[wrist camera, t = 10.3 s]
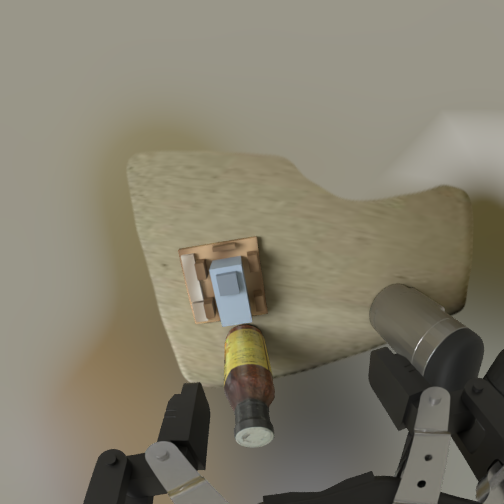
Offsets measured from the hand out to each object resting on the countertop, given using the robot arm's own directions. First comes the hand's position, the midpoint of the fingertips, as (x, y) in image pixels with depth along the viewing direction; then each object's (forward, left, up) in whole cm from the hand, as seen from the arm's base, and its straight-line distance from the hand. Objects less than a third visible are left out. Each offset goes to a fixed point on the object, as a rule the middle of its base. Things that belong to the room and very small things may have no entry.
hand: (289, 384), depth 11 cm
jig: (+4, +4, -28) cm, 29 cm away
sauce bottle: (+4, +14, -28) cm, 32 cm away
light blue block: (+4, +4, -27) cm, 28 cm away
